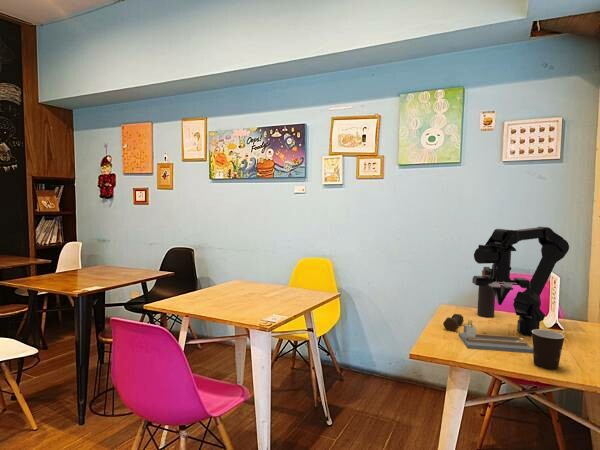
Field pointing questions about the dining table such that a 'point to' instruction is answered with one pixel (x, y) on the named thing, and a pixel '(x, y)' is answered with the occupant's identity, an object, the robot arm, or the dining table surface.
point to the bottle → (486, 300)
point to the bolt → (453, 322)
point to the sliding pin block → (469, 330)
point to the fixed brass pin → (521, 339)
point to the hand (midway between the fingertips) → (499, 304)
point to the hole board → (496, 343)
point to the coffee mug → (547, 348)
